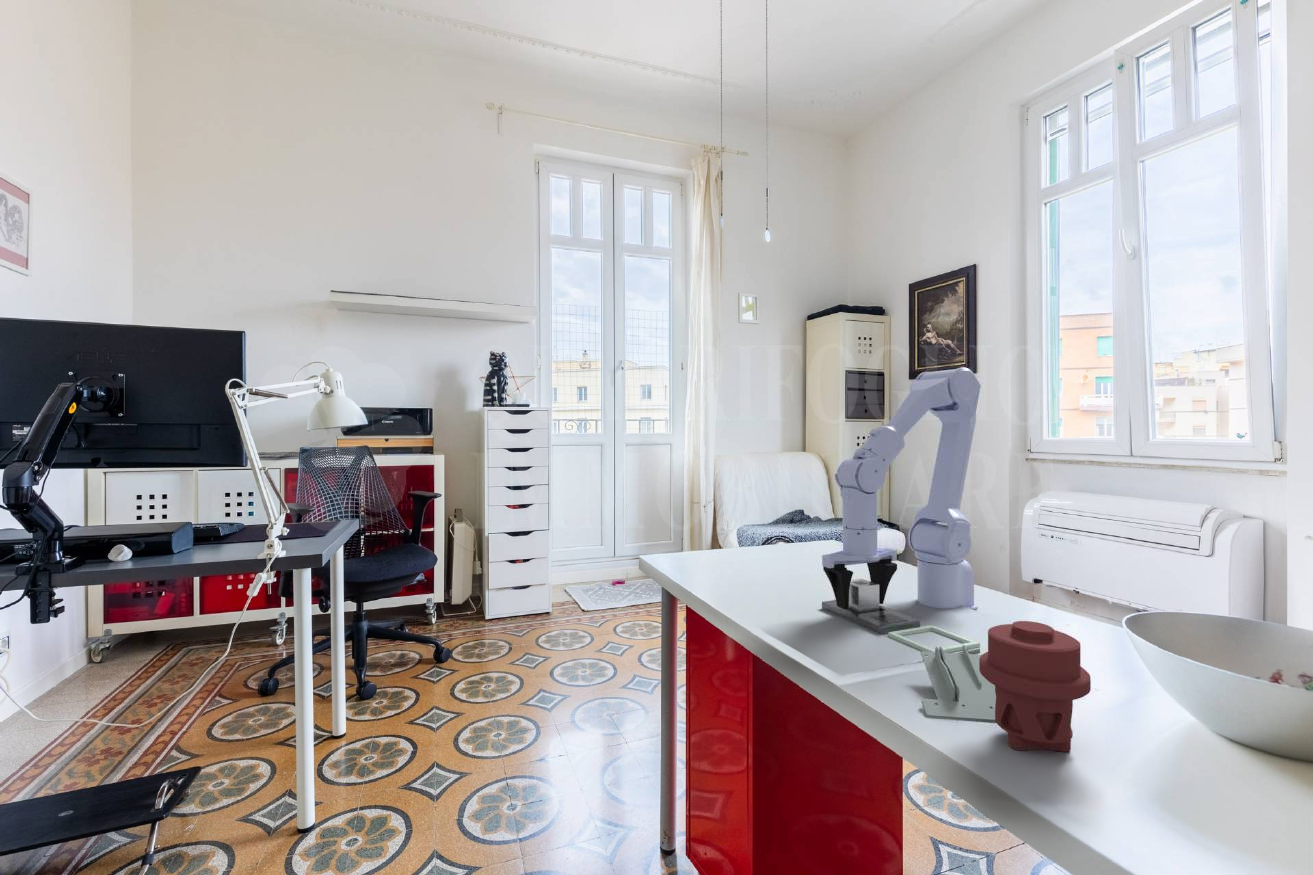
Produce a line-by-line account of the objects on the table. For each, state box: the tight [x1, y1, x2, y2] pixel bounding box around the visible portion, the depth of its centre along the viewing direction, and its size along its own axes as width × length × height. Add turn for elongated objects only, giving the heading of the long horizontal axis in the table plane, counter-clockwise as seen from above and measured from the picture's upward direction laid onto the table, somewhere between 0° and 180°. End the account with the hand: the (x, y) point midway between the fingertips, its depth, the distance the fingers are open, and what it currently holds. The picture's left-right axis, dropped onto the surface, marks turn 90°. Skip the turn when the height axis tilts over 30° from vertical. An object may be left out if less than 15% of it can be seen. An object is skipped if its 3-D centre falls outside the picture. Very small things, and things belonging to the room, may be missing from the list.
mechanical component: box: [979, 620, 1092, 753], centre depth 65 cm, size 12×10×10 cm
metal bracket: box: [920, 645, 996, 723], centre depth 75 cm, size 14×6×15 cm
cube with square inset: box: [847, 578, 880, 614], centre depth 106 cm, size 4×4×6 cm
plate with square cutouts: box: [821, 599, 921, 635], centre depth 104 cm, size 8×15×2 cm, turn 22°
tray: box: [887, 624, 981, 655], centre depth 92 cm, size 9×9×2 cm
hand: (860, 604), depth 106 cm, fingers open, 7 cm apart
